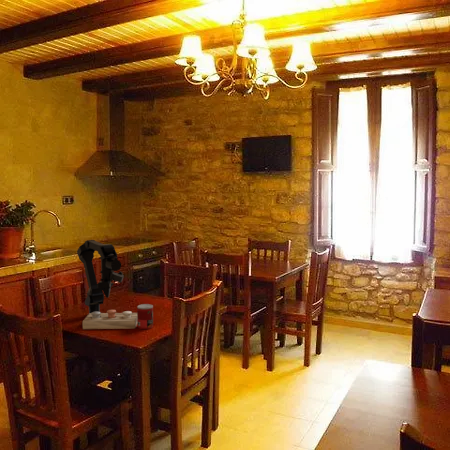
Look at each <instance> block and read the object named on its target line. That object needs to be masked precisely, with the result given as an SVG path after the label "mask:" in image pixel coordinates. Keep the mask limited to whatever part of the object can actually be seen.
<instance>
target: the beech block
mask: <svg viewBox="0 0 450 450" xmlns="http://www.w3.org/2000/svg"><path fill="white" fill-rule="evenodd" d="M88 314H89V313H88ZM88 314H87V315H86V316H85V318H84V319H83V320H82V330H104V329H106V330H111V329H112V330H118V329H119V330H121V329H124V330H126V329H136V328H137V326H138V321H137V312H132V314H131V318H124V315H123V312H116V313H115V318H108V313H107V312H106V313H104V312H101V314H100V318H92V315H91V313H90V314H89V315H88Z"/></svg>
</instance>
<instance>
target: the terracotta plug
mask: <svg viewBox="0 0 450 450" xmlns="http://www.w3.org/2000/svg"><path fill="white" fill-rule="evenodd" d="M106 313H108V318H115V313H117V310H116V309H108V310H106Z"/></svg>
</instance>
